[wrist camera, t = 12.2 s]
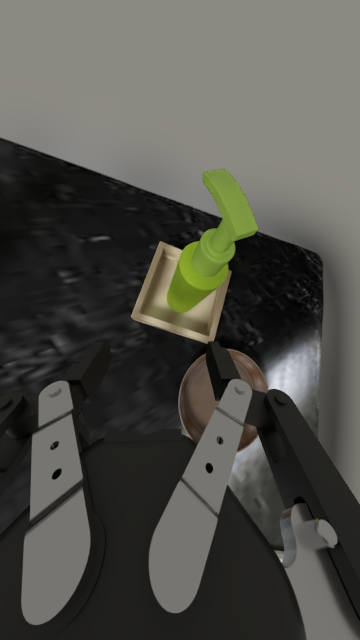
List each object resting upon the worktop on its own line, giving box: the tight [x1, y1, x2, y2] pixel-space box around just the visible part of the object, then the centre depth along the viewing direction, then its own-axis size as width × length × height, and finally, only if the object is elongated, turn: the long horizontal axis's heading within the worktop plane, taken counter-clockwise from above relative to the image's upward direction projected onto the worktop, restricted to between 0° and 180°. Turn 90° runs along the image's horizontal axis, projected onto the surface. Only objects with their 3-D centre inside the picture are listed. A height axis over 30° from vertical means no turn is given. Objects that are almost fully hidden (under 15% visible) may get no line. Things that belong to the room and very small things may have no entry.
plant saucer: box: [179, 349, 268, 453], centre depth 28 cm, size 18×18×3 cm
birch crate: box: [131, 241, 232, 344], centre depth 28 cm, size 15×15×4 cm
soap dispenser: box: [167, 169, 259, 313], centre depth 20 cm, size 6×7×20 cm
